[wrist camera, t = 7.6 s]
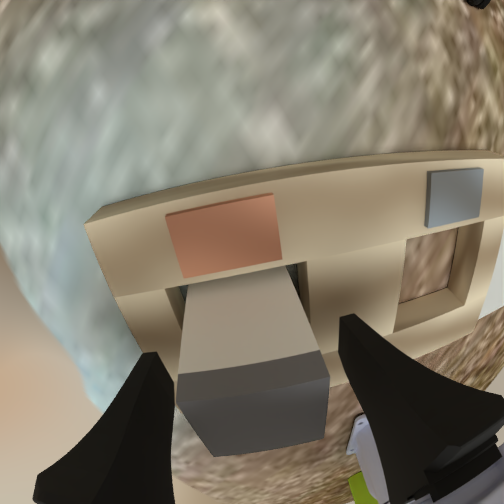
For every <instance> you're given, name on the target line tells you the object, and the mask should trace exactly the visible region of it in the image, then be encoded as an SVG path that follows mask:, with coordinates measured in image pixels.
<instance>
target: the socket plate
mask: <svg viewBox="0 0 504 504" xmlns="http://www.w3.org/2000/svg"><path fill="white" fill-rule="evenodd" d="M84 227H85V230H86V232H87V235H88V238H89V240H90V243H91V246H92V248H93V251H94V253H95V256H96V258H97V260H98V263H99V265H100V267H101V270H102V272H103V274H104V277H105V279H106V281H107V283H108V286H109V288H110V290H111V292H112V294H113V296H114V298H115V301H116V303H117V305H118V307H119V309H120V311H121V313H122V315H123V317H124V319H125V321H126V323H127V324H128V326H129V328H130V330H131V332H132V334H133V336H134V338H135V339H136V341H137V343H138V345H139V347H140V348H141V350H142V352H143V353H147V352H156V351H157V353H158V355H159V357H160V358H161V360H162V362H163V364H164V366H165V367H166V369H167V371H168V373H169V374H170V376H171V378H172V380H173V381H174V392H175V405H176V406H177V408H178V409H179V411H180V412H181V413H182V411H181V410H180V408H179V407H178V405H177V404H176V392H177V380H178V369H179V358H180V348H181V339H182V330H183V321H184V313H185V302H184V299H183V297H182V294H181V291H180V288H179V286H182V285H187V284H193V283H198V282H203V281H209V280H214V279H219V278H224V277H229V276H235V275H240V274H245V273H250V272H255V271H260V270H265V269H270V268H275V267H280V266H285V265H290V264H294V263H297V270H298V281H299V292H300V302H301V304H302V307H303V309H304V312H305V314H306V317H307V319H308V322H309V324H310V326H311V329H312V331H313V334H314V336H315V339H316V341H317V344H318V346H319V349H320V351H321V354H322V357H323V359H324V362H325V364H326V367H327V369H328V372H329V374H330V387H334V386H337V385H341V384H344V383H347V382H349V380H348V378H347V376H346V374H345V371H344V368H343V366H342V363H341V360H340V357H339V354H338V340H339V317H341V316H345V315H349V314H352V313H354V314H356V315H357V316H358V317H359V318H361V319H362V320H363V321H364V322H365V323H366V324H368V325H369V326H370V327H371V328H372V329H374V330H375V331H376V332H377V333H378V334H380V335H381V336H382V337H383V338H385V339H386V340H387V341H389V342H390V343H391V344H392V345H394V346H395V347H396V348H398V349H399V350H400V351H402V352H403V353H405V354H406V355H408V356H409V357H411V358H412V359H415V358H418V357H420V356H423V355H425V354H427V353H430V352H432V351H434V350H436V349H439V348H441V347H443V346H445V345H447V344H449V343H451V342H454V341H456V340H458V339H460V338H462V337H464V336H466V335H468V334H470V333H472V332H473V331H474V328H475V326H476V323H477V320H478V318H479V315H480V312H481V310H482V307H483V304H484V301H485V298H486V295H487V292H488V289H489V286H490V282H491V279H492V275H493V272H494V268H495V264H496V261H497V257H498V252H499V248H500V244H501V239H502V234H503V229H504V156H503V155H500V154H497V153H494V152H491V151H488V150H446V151H421V152H403V153H389V154H377V155H366V156H356V157H347V158H338V159H330V160H322V161H314V162H307V163H300V164H293V165H287V166H280V167H274V168H268V169H262V170H257V171H251V172H246V173H240V174H235V175H230V176H225V177H220V178H215V179H210V180H205V181H201V182H196V183H192V184H187V185H183V186H179V187H174V188H170V189H166V190H162V191H158V192H154V193H150V194H146V195H142V196H139V197H135V198H131V199H127V200H124V201H120V202H117V203H113V204H110V205H106V206H103V207H101V208H100V209H99V210H98V211H97V212H96V213H95V214H94V215H93V216H92V217H91V218H90V219H89V220H87V221H86V222H85V223H84ZM456 227H459V229H458V235H457V242H456V248H455V253H454V259H453V264H452V269H451V273H450V278H449V282H448V286H447V288H445V289H442V290H439V291H437V292H434V293H431V294H428V295H425V296H422V297H419V298H416V299H413V300H410V301H407V302H404V303H401V304H398V302H399V296H400V290H401V283H402V275H403V268H404V259H405V249H406V239H409V238H414V237H418V236H423V235H427V234H431V233H435V232H440V231H444V230H448V229H452V228H456ZM330 387H329V388H330Z"/></svg>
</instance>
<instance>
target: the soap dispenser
mask: <svg viewBox="0 0 504 504" xmlns="http://www.w3.org/2000/svg"><path fill="white" fill-rule="evenodd" d="M348 482H349V485H350V489H351V492H352V495H353V498H354V501H355V504H379V503H378V500H377V499H375V498H374V497H373V496H372V495H371V494H370V492H369V490H368V488H367V485H366V482H365V479H364V476H363V473H362V471H361V472H359V473H357V474H355V475H353V476H351V477H350V478H349V479H348Z"/></svg>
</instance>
